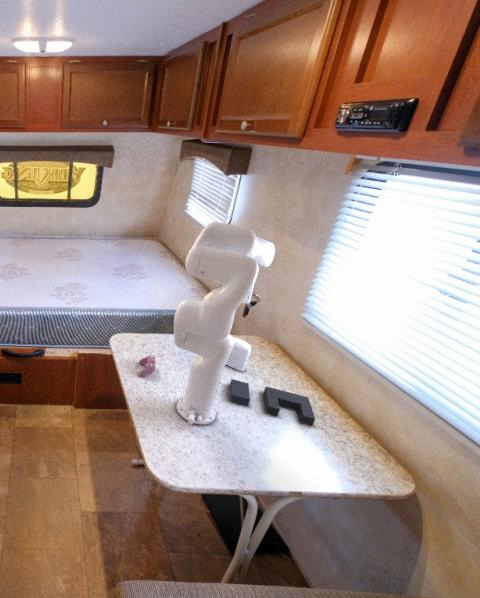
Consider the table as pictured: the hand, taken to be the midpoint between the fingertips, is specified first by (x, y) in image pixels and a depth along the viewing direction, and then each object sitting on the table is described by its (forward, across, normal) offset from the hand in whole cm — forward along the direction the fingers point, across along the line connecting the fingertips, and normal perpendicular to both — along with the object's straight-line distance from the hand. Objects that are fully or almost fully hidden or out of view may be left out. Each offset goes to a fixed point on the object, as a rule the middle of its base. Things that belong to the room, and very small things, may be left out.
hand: (230, 313), depth 137 cm
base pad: (+25, +24, -16) cm, 38 cm away
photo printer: (+25, +6, +4) cm, 26 cm away
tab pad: (+25, +8, -16) cm, 30 cm away
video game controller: (+25, -26, -15) cm, 39 cm away
